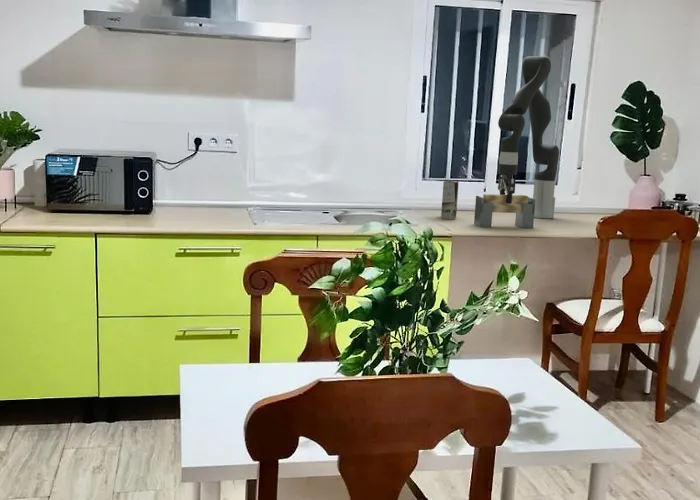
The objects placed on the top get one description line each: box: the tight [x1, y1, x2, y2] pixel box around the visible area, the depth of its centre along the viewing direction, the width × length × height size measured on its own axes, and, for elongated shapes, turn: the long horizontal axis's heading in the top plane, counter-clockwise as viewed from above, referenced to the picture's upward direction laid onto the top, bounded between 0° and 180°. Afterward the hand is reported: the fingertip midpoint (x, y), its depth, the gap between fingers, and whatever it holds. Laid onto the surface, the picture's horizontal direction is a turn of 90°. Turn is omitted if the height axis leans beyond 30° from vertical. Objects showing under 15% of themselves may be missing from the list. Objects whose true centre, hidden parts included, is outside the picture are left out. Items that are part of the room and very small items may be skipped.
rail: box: [482, 193, 529, 214], centre depth 314 cm, size 18×4×7 cm, turn 97°
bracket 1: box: [473, 195, 493, 228], centre depth 313 cm, size 5×8×12 cm, turn 7°
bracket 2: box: [514, 196, 536, 229], centre depth 315 cm, size 5×8×12 cm, turn 7°
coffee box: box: [440, 180, 460, 220], centre depth 332 cm, size 9×6×16 cm
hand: (505, 202), depth 313 cm, fingers open, 8 cm apart
